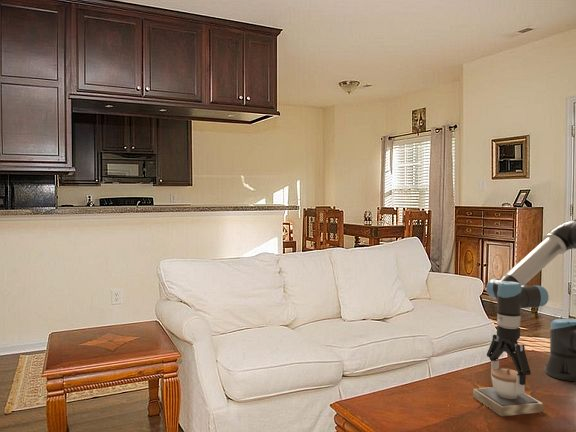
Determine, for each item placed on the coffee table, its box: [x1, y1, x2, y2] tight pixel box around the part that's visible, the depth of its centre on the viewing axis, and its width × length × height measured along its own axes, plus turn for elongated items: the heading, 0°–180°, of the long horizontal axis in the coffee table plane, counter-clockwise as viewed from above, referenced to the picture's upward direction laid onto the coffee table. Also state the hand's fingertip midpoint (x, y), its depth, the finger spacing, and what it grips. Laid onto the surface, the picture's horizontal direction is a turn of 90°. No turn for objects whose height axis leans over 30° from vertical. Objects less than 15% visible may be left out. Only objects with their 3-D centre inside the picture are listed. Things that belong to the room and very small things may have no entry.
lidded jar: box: [491, 368, 520, 399], centre depth 170 cm, size 11×11×9 cm
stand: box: [472, 386, 544, 417], centre depth 171 cm, size 16×16×3 cm
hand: (506, 385), depth 171 cm, fingers open, 13 cm apart
